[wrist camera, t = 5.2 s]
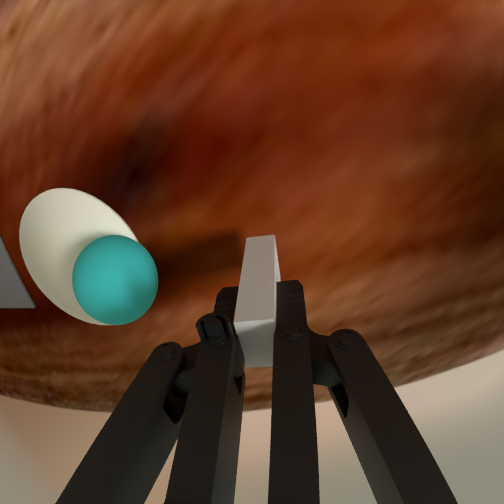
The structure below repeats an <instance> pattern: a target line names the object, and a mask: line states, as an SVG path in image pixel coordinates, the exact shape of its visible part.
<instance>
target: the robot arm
mask: <svg viewBox="0 0 504 504" xmlns="http://www.w3.org/2000/svg"><path fill="white" fill-rule="evenodd" d="M196 328H197V331H198V333H199V336H200V339H201V341H200V342H199V343H197V344H194V345H191V346H188V347H184V348H182V347H181V346H180V345H179V344H178V343H175V342H166V343H163V344H161V345H159V346H157V347H156V348H155V349H154V350H153V352H152V353H151V355H150V356H149V358H148V359H147V361H146V362H145V364H144V365H143V367H142V368H141V370H140V371H139V373H138V374H137V376H136V377H135V379H134V380H133V382H132V383H131V385H130V386H129V388H128V389H127V391H126V393H125V394H124V396H123V397H122V399H121V400H120V402H119V403H118V405H117V406H116V408H115V409H114V411H113V413H112V414H111V416H110V417H109V419H108V420H107V422H106V423H105V425H104V427H103V428H102V430H101V431H100V433H99V434H98V436H97V437H96V439H95V441H94V442H93V444H92V445H91V447H90V449H89V450H88V452H87V453H86V455H85V456H84V458H83V460H82V461H81V463H80V465H79V466H78V468H77V469H76V471H75V473H74V474H73V476H72V478H71V479H70V481H69V482H68V484H67V486H66V487H65V489H64V490H63V492H62V494H61V495H60V497H59V499H58V500H57V502H56V503H55V504H144V503H145V501H146V499H147V497H148V495H149V493H150V491H151V489H152V487H153V485H154V483H155V481H156V479H157V478H158V476H159V474H160V472H161V470H162V468H163V466H164V464H165V462H166V460H167V458H168V456H169V454H170V452H171V450H172V448H173V446H174V444H175V442H176V440H177V438H178V442H177V446H176V450H175V455H174V460H173V465H172V469H171V474H170V479H169V484H168V489H167V494H166V499H165V502H164V504H234V496H235V485H236V474H237V464H238V453H239V443H240V432H241V421H242V411H243V400H244V389H245V373H244V362H245V365H246V368H256V367H272V366H273V380H272V415H271V445H270V446H271V447H270V468H269V491H268V504H320V500H319V499H320V497H319V471H318V450H317V433H316V417H315V402H314V389H313V384H317V385H323V386H328V389H329V392H330V394H331V396H332V399H333V401H334V403H335V405H336V408H337V410H338V412H339V415H340V417H341V419H342V421H343V424H344V426H345V428H346V431H347V433H348V435H349V438H350V440H351V442H352V445H353V447H354V449H355V452H356V454H357V456H358V458H359V461H360V463H361V466H362V468H363V470H364V473H365V475H366V478H367V480H368V482H369V485H370V487H371V489H372V492H373V494H374V497H375V499H376V501H377V504H458V503H457V501H456V499H455V497H454V495H453V493H452V492H451V490H450V488H449V486H448V484H447V482H446V480H445V478H444V476H443V474H442V472H441V471H440V469H439V467H438V465H437V463H436V461H435V459H434V458H433V456H432V454H431V452H430V450H429V448H428V447H427V445H426V443H425V441H424V439H423V438H422V436H421V434H420V433H419V431H418V429H417V427H416V425H415V424H414V422H413V420H412V418H411V417H410V415H409V413H408V411H407V410H406V408H405V406H404V404H403V403H402V401H401V399H400V398H399V396H398V394H397V393H396V391H395V389H394V388H393V386H392V384H391V383H390V381H389V379H388V378H387V376H386V374H385V373H384V371H383V369H382V368H381V366H380V364H379V363H378V361H377V360H376V358H375V356H374V355H373V353H372V351H371V350H370V348H369V347H368V345H367V343H366V342H365V340H364V339H363V337H362V336H361V335H360V334H359V333H358V332H357V331H354V330H352V329H340V330H337V331H335V332H333V333H332V334H331V335H330V336H324V335H319V334H316V333H314V332H313V331H312V330H310V328H309V327H308V325H307V318H306V309H305V301H304V292H303V286H302V284H301V283H300V282H299V281H298V280H290V281H281V282H280V271H279V264H278V257H277V250H276V242H275V235H267V236H258V237H249V238H247V239H246V245H245V252H244V258H243V264H242V271H241V277H240V284H239V286H236V287H225V288H222V290H221V291H220V292H219V293H218V295H217V298H216V304H215V307H214V311H213V313H209V314H206V315H204V316H202V317H201V318H200V319H199V320H198V321H197V323H196ZM178 436H179V437H178Z"/></svg>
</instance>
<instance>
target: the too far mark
mask: <svg viewBox="0 0 504 504" xmlns="http://www.w3.org/2000/svg"><path fill="white" fill-rule="evenodd" d="M35 307H36V306H35V304H34V302H33V301H32V299H31V297H30V295H29V293H28V292H27V290H26V288H25V286H24V284H23V282H22V280H21V278H20V277H19V275H18V273H17V271H16V269H15V267H14V265H13V262H12V260H11V258H10V256H9V254H8V252H7V250H6V247H5V245H4V243H3V241H2V238H1V236H0V308H35Z"/></svg>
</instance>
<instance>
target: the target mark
mask: <svg viewBox="0 0 504 504" xmlns="http://www.w3.org/2000/svg"><path fill="white" fill-rule="evenodd" d="M107 235H122V236H126V237H129V238H131V239H133V240H135V241H137V242H138V240H137V238H136V236H135V235H134V233H133V232H132V230H131V229H130V228H129V226H128V225H127V224H126V223H125V221H124V220H123V219H122V218H121V217H120V216H119V215H118V214H117V213H116V212H115V211H114V210H113V209H112V208H111V207H109V206H108V205H107V204H105V203H104V202H103V201H101V200H99V199H98V198H96V197H94V196H92V195H90V194H88V193H86V192H83V191H80V190H76V189H71V188H55V189H50V190H47V191H45V192H43V193H41V194H39V195H38V196H37V197H35V198H34V199H33V200H32V201H31V202H30V203H29V204H28V206H27V207H26V209H25V211H24V213H23V216H22V219H21V223H20V230H19V240H20V248H21V252H22V256H23V259H24V262H25V265H26V267H27V269H28V271H29V273H30V275H31V277H32V278H33V280H34V281H35V283H36V284H37V286H38V287H39V288H40V290H41V291H42V292H43V293H44V294H45V295H46V297H47V298H48V299H49V300H51V301H52V302H53V303H54V304H55V305H56V306H58V307H59V308H60V309H62V310H63V311H65V312H66V313H68V314H69V315H71V316H73V317H75V318H77V319H80V320H82V321H85V322H88V323H92V324H97V325H110V324H105V323H102V322H99V321H97V320H95V319H93V318H92V317H91V316H89V315H88V314H87V313H86V312H85V311H84V310H83V309H82V307H81V306H80V305H79V303H78V301H77V299H76V297H75V294H74V291H73V286H72V273H73V267H74V264H75V261H76V259H77V257H78V255H79V254H80V252H81V251H82V250H83V249H84V248H85V246H87V245H88V244H89V243H90V242H92V241H94V240H95V239H98V238H100V237H103V236H107ZM138 243H139V242H138Z"/></svg>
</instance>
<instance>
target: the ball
mask: <svg viewBox="0 0 504 504" xmlns="http://www.w3.org/2000/svg"><path fill="white" fill-rule="evenodd" d="M72 286H73V291H74V294H75V297H76V299H77V301H78V303H79V305H80V306H81V307H82V309H83V310H84V311H85V312H86V313H87V314H88V315H89V316H91V317H92V318H93V319H95V320H97V321H99V322H102V323H105V324H110V325H123V324H127V323H130V322H133V321H135V320H136V319H138V318H140V317H141V316H142V315H143V314H145V312H146V311H147V310H148V309H149V308H150V306H151V305H152V303H153V301H154V299H155V296H156V293H157V289H158V273H157V268H156V265H155V263H154V260H153V258H152V257H151V255H150V254H149V252H148V251H147V250H146V249H145V248H144V247H143V246H142V245H141V244H140V243H138V242H137V241H135V240H133V239H131V238H129V237H126V236H122V235H107V236H103V237H100V238H98V239H95V240H94V241H92V242H90V243H89V244H88V245H87V246H85V248H84V249H83V250H82V251H81V252H80V254H79V255H78V257H77V259H76V261H75V264H74V267H73V273H72Z"/></svg>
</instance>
